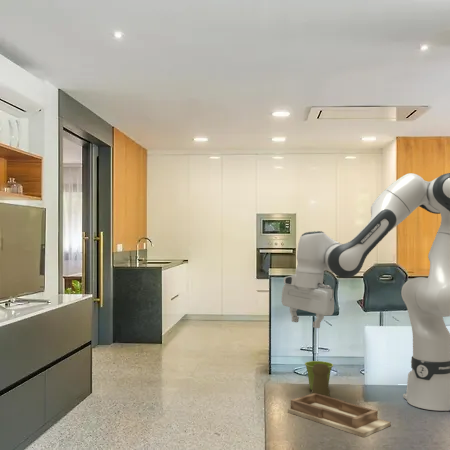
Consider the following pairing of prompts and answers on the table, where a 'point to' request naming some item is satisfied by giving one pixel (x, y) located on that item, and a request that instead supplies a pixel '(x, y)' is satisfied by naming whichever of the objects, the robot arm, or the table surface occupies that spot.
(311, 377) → the plant pot
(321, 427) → the table surface
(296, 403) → the wooden tray
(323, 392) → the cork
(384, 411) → the table surface
